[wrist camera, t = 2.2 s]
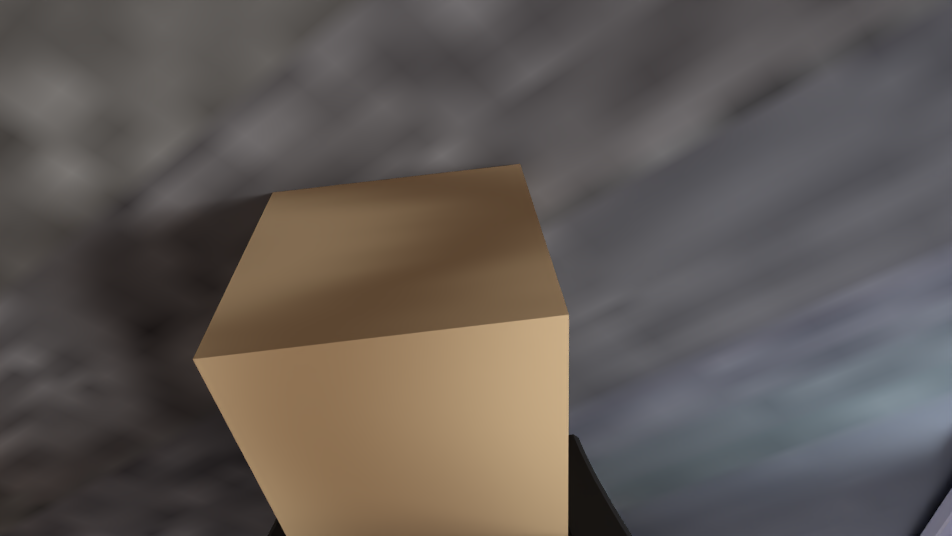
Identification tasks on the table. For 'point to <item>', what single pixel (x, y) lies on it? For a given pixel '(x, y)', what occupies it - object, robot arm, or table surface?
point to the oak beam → (399, 359)
